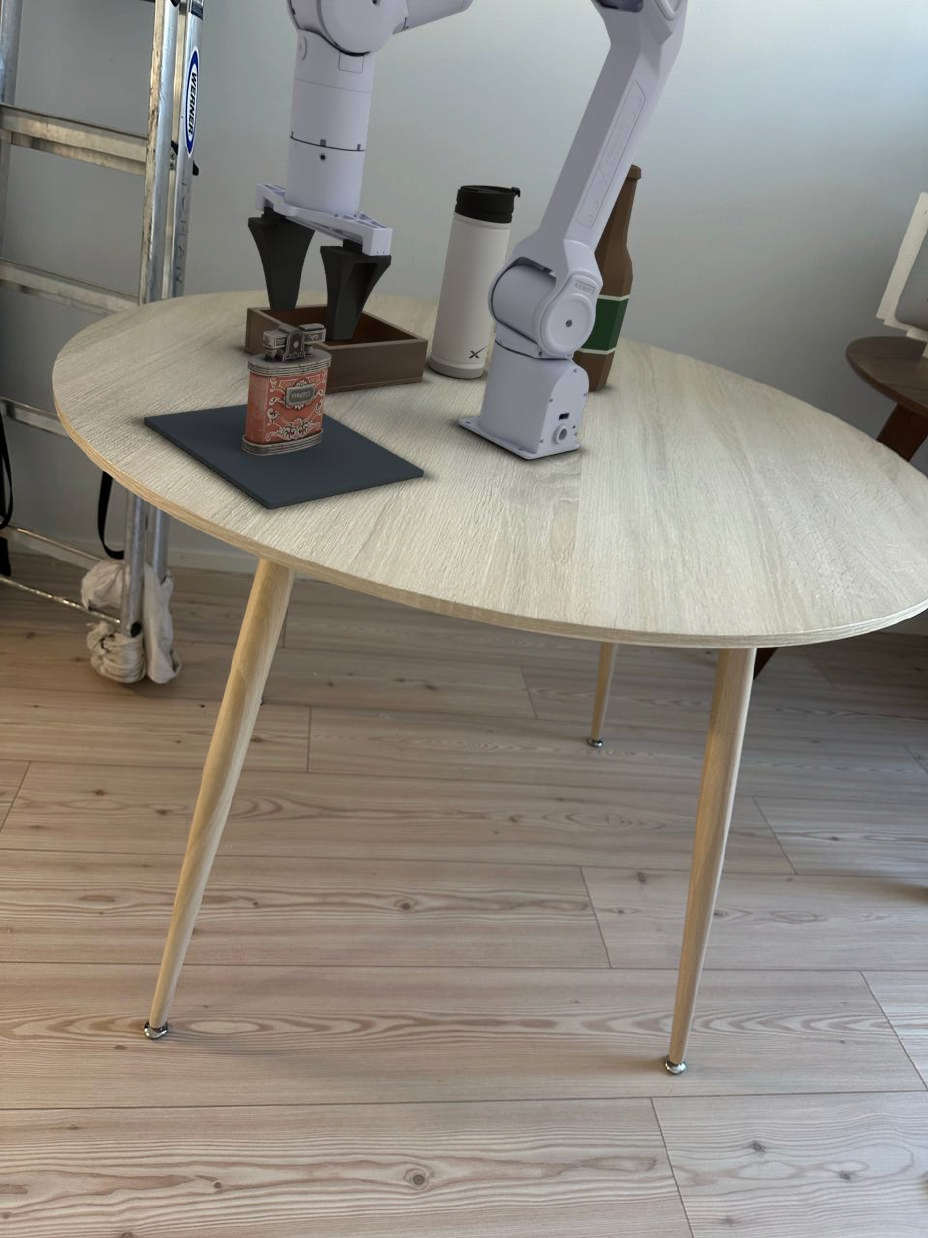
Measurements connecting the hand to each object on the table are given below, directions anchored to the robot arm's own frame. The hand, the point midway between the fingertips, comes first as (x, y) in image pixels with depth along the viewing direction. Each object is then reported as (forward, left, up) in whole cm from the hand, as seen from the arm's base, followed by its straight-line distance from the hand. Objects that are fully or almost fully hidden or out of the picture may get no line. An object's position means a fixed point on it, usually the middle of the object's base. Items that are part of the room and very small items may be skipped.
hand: (310, 323), depth 81 cm
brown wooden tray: (+16, -17, -10) cm, 25 cm away
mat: (-1, +2, -10) cm, 11 cm away
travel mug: (+11, -31, -11) cm, 34 cm away
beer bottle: (+4, -44, -11) cm, 45 cm away
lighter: (-1, +2, -10) cm, 10 cm away
